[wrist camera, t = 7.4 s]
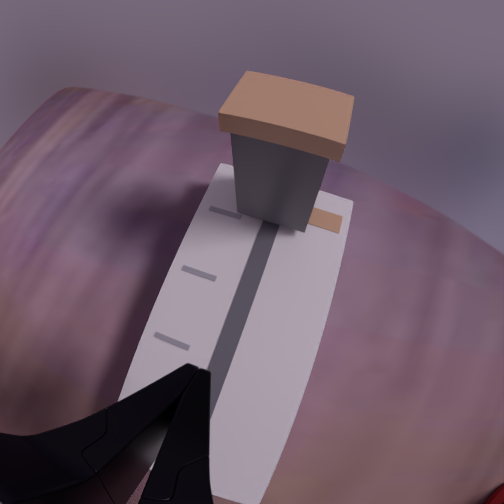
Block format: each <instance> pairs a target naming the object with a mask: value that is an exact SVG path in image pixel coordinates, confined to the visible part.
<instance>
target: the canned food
mask: <svg viewBox="0 0 504 504" xmlns="http://www.w3.org/2000/svg"><path fill="white" fill-rule="evenodd" d="M484 504H504V484H503V485H502V486H501V487H499V488H498V489H497V490H496V491H495V492H494V493H493V494H492V495H491V496H490V497H489V498H488V500H487V501H486V502H485V503H484Z"/></svg>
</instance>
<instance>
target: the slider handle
mask: <svg viewBox="0 0 504 504" xmlns="http://www.w3.org/2000/svg"><path fill="white" fill-rule="evenodd" d="M353 101H354V96H351V95H348V94H345V93H342V92H338V91H335V90H331V89H328V88H324V87H321V86H317V85H312V84H309V83H305V82H301V81H297V80H292V79H287V78H283V77H278V76H273V75H267V74H263V73H257V72H251V71H246V73H245V74H244V75H243V77H242V78H241V80H240V81H239V83H238V84H237V85H236V87H235V89H234V90H233V91H232V93H231V94H230V95H229V97H228V98H227V100H226V101H225V103H224V104H223V106H222V107H221V109H220V111H219V112H218V116H219V125H220V131H223V132H228V133H231V144H232V156H233V168H234V180H235V192H236V203H237V212H238V213H241V214H244V215H248V216H251V217H255V218H258V219H261V220H265V221H268V222H271V223H274V224H278V225H281V226H284V227H288V228H291V229H294V230H297V231H300V232H304V233H305V230H306V227H307V224H308V222H309V219H310V216H311V213H312V210H313V207H314V204H315V201H316V198H317V195H318V192H319V189H320V186H321V183H322V180H323V177H324V174H325V171H326V168H327V165H328V162H329V159H331V160H335V161H338V162H340V160H341V157H342V154H343V151H344V148H345V145H346V141H347V136H348V131H349V125H350V120H351V114H352V108H353Z"/></svg>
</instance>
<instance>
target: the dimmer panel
mask: <svg viewBox="0 0 504 504" xmlns="http://www.w3.org/2000/svg"><path fill="white" fill-rule="evenodd" d="M353 202H354V201H351V200H348V199H345V198H342V197H339V196H336V195H333V194H329V193H326V192H323V191H320V190H319V192H318V195H317V198H316V201H315V204H314V207H313V210H312V213H311V216H310V219H309V222H308V224H307V227H306V230H305V233H304V232H300V231H297V230H294V229H291V228H288V227H284V226H281V225H278V224H274V223H271V222H268V221H265V220H261V219H258V218H255V217H251V216H248V215H244V214H241V213H238V212H237V203H236V192H235V180H234V168H233V166H231V165H227V164H223V163H220V165H219V167H218V169H217V171H216V173H215V175H214V177H213V179H212V181H211V183H210V185H209V187H208V189H207V191H206V193H205V195H204V197H203V199H202V201H201V203H200V205H199V207H198V209H197V211H196V213H195V215H194V217H193V219H192V222H191V224H190V226H189V228H188V230H187V232H186V234H185V236H184V238H183V241H182V243H181V245H180V247H179V249H178V252H177V254H176V256H175V258H174V260H173V263H172V265H171V267H170V269H169V272H168V274H167V276H166V279H165V281H164V283H163V285H162V288H161V290H160V292H159V295H158V297H157V300H156V302H155V304H154V307H153V309H152V312H151V314H150V317H149V319H148V321H147V324H146V326H145V329H144V332H143V334H142V337H141V339H140V342H139V344H138V347H137V350H136V352H135V355H134V357H133V360H132V363H131V366H130V368H129V371H128V374H127V377H126V379H125V382H124V385H123V388H122V391H121V394H120V396H119V399H118V401H120V400H122V399H124V398H126V397H128V396H129V395H131V394H133V393H135V392H137V391H139V390H140V389H142V388H144V387H146V386H148V385H149V384H151V383H153V382H155V381H156V380H158V379H160V378H162V377H164V376H165V375H167V374H169V373H170V372H172V371H174V370H176V369H177V368H179V367H181V366H182V365H184V364H186V363H191V364H193V365H196V366H198V367H199V368H203V369H206V370H209V371H211V373H212V377H211V407H210V455H209V457H210V484H211V491H212V495H215V496H219V497H222V498H225V499H228V500H232V501H235V502H239V503H242V504H260V501H261V499H262V497H263V495H264V493H265V491H266V488H267V486H268V484H269V482H270V479H271V477H272V475H273V472H274V470H275V468H276V465H277V463H278V460H279V458H280V455H281V453H282V451H283V448H284V446H285V443H286V440H287V438H288V435H289V433H290V430H291V427H292V425H293V422H294V419H295V417H296V414H297V411H298V408H299V405H300V403H301V400H302V397H303V394H304V391H305V388H306V385H307V382H308V379H309V376H310V373H311V370H312V367H313V363H314V360H315V357H316V354H317V351H318V347H319V344H320V340H321V337H322V334H323V330H324V327H325V323H326V319H327V316H328V312H329V308H330V305H331V301H332V297H333V293H334V289H335V285H336V281H337V277H338V273H339V269H340V265H341V260H342V256H343V251H344V247H345V242H346V237H347V233H348V228H349V223H350V218H351V213H352V207H353ZM154 462H155V461H154ZM153 465H154V463H153V464H152V466H151V467H150V470H152V467H153Z"/></svg>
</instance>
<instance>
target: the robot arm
mask: <svg viewBox="0 0 504 504" xmlns="http://www.w3.org/2000/svg"><path fill="white" fill-rule="evenodd" d="M211 377H212V373H211V371H209V370H206V369H203V368H199V367H198V366H196V365H193V364H191V363H186V364H184V365H182V366H181V367H179V368H177V369H176V370H174V371H172V372H170V373H169V374H167V375H165V376H164V377H162V378H160V379H158V380H156V381H155V382H153V383H151V384H149V385H148V386H146V387H144V388H142V389H140V390H139V391H137V392H135V393H133V394H131V395H129V396H128V397H126V398H124V399H122V400H120V401H118V402H116V403H114V404H113V405H111V406H109V407H107V409H106V408H105V409H103V410H101V411H99V412H97V413H95V414H93V415H91V416H88V417H86V418H84V419H82V420H79V421H76V422H74V423H71V424H68V425H65V426H62V427H59V428H56V429H53V430H49V431H46V432H43V433H39V434H36V435H29V436H19V435H12V434H5V433H0V504H126V503H127V501H128V500H129V498H130V497H131V495H132V494H133V492H134V491H135V489H136V488H137V486H138V485H139V483H140V482H141V481H142V479H143V478H144V476H145V475H146V473H147V472H148V470H149V469H150V467H151V466H152V464H153V463H154V465H153V467H152V470H151V472H150V475H149V477H148V480H147V482H146V485H145V488H144V490H143V493H142V495H141V499H140V500H139V503H138V504H214V503H213V498H212V491H211V484H210V457H209V455H210V407H211ZM154 461H155V462H154Z"/></svg>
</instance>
